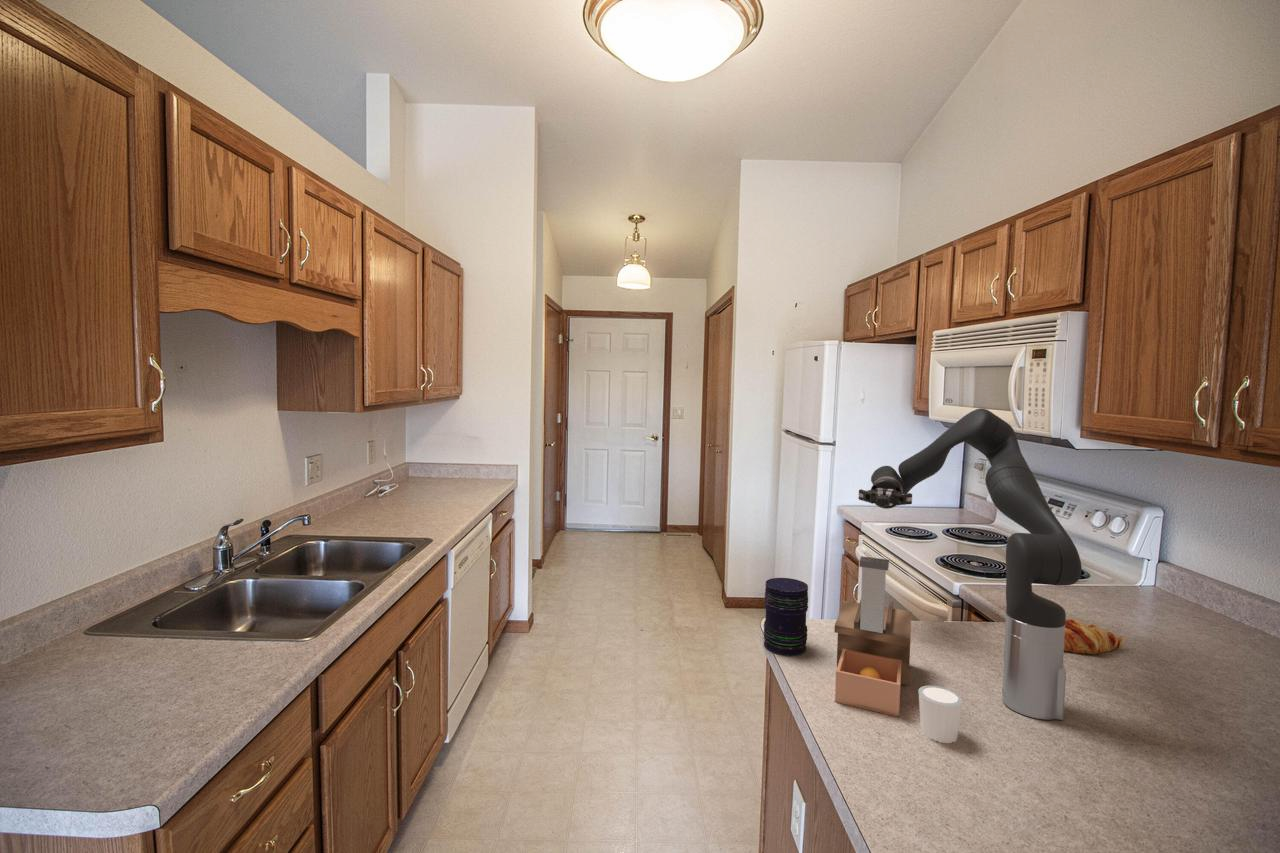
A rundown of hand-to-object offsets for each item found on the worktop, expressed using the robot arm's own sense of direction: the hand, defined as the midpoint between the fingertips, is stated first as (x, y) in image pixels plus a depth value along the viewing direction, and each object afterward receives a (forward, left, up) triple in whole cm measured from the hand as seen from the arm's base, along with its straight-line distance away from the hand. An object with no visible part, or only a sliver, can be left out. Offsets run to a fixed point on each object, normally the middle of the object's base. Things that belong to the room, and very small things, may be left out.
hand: (882, 502), depth 134 cm
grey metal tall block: (0, +24, -22) cm, 32 cm away
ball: (0, +25, -31) cm, 40 cm away
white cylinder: (-12, +35, -34) cm, 50 cm away
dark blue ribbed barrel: (+19, +13, -34) cm, 41 cm away
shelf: (0, +17, -34) cm, 38 cm away
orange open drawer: (0, +27, -34) cm, 43 cm away
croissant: (-43, -20, -34) cm, 59 cm away
